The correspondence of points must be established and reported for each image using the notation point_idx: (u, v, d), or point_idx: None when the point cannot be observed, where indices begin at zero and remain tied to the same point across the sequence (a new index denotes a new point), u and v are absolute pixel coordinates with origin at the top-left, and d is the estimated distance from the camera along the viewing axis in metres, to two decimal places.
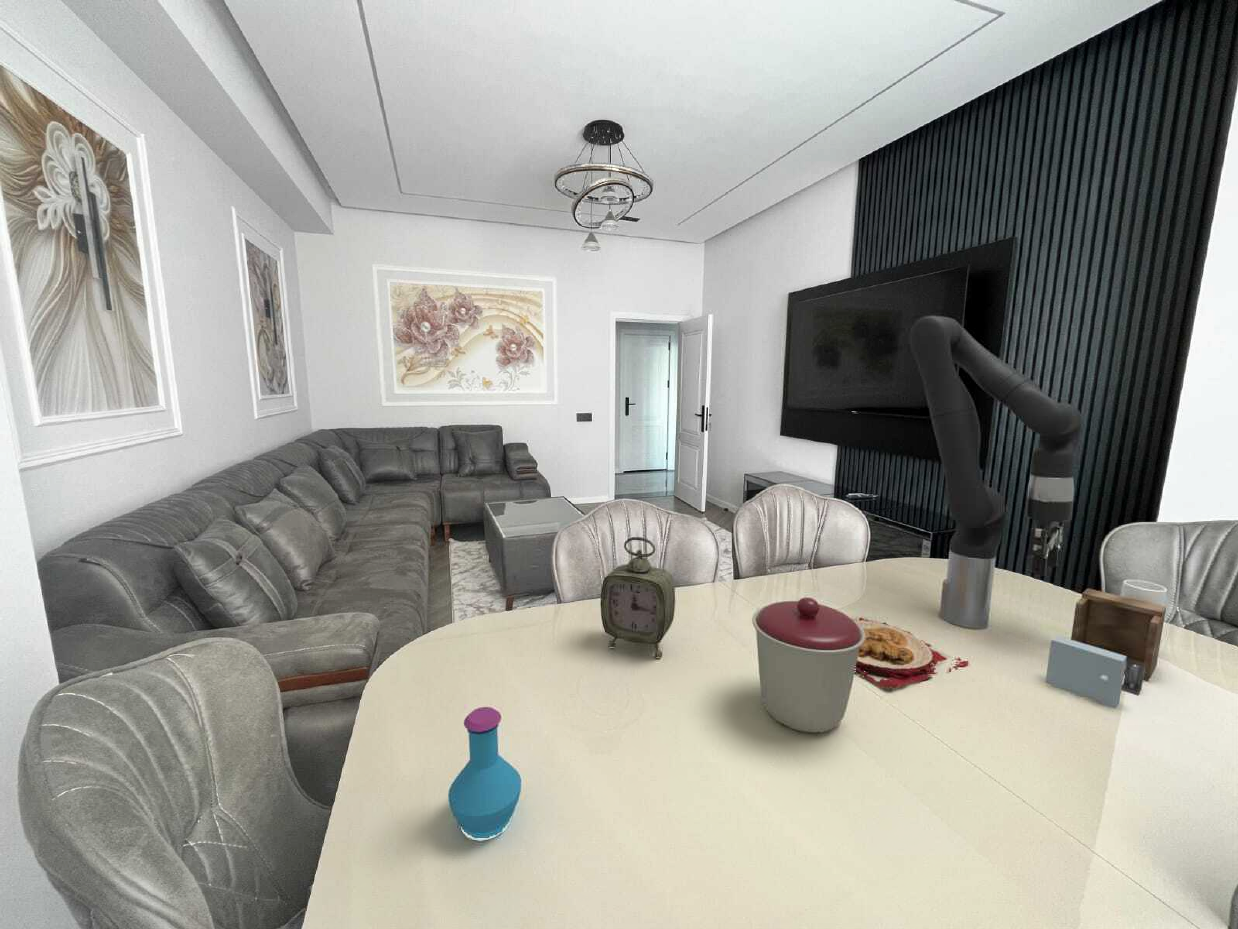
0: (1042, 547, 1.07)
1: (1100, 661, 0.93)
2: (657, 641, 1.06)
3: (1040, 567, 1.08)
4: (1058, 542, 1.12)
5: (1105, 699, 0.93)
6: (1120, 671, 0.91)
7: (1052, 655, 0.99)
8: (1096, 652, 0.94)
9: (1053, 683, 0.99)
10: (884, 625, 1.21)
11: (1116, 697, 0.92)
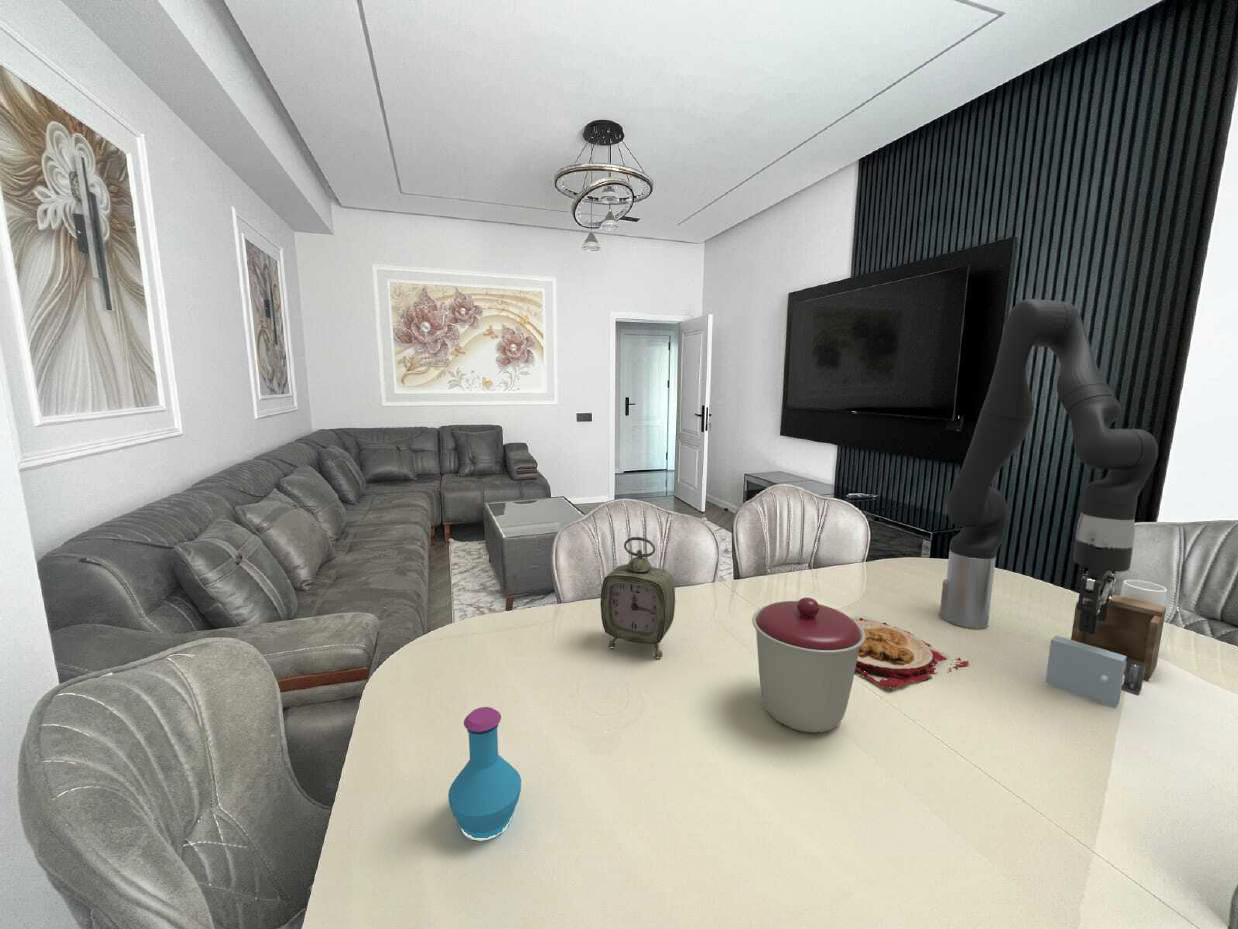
0: (1094, 602, 0.89)
1: (1100, 661, 0.93)
2: (657, 641, 1.06)
3: (1090, 624, 0.91)
4: (1110, 593, 0.95)
5: (1105, 699, 0.93)
6: (1120, 671, 0.91)
7: (1052, 655, 0.99)
8: (1096, 652, 0.94)
9: (1053, 683, 0.99)
10: (884, 625, 1.21)
11: (1116, 697, 0.92)
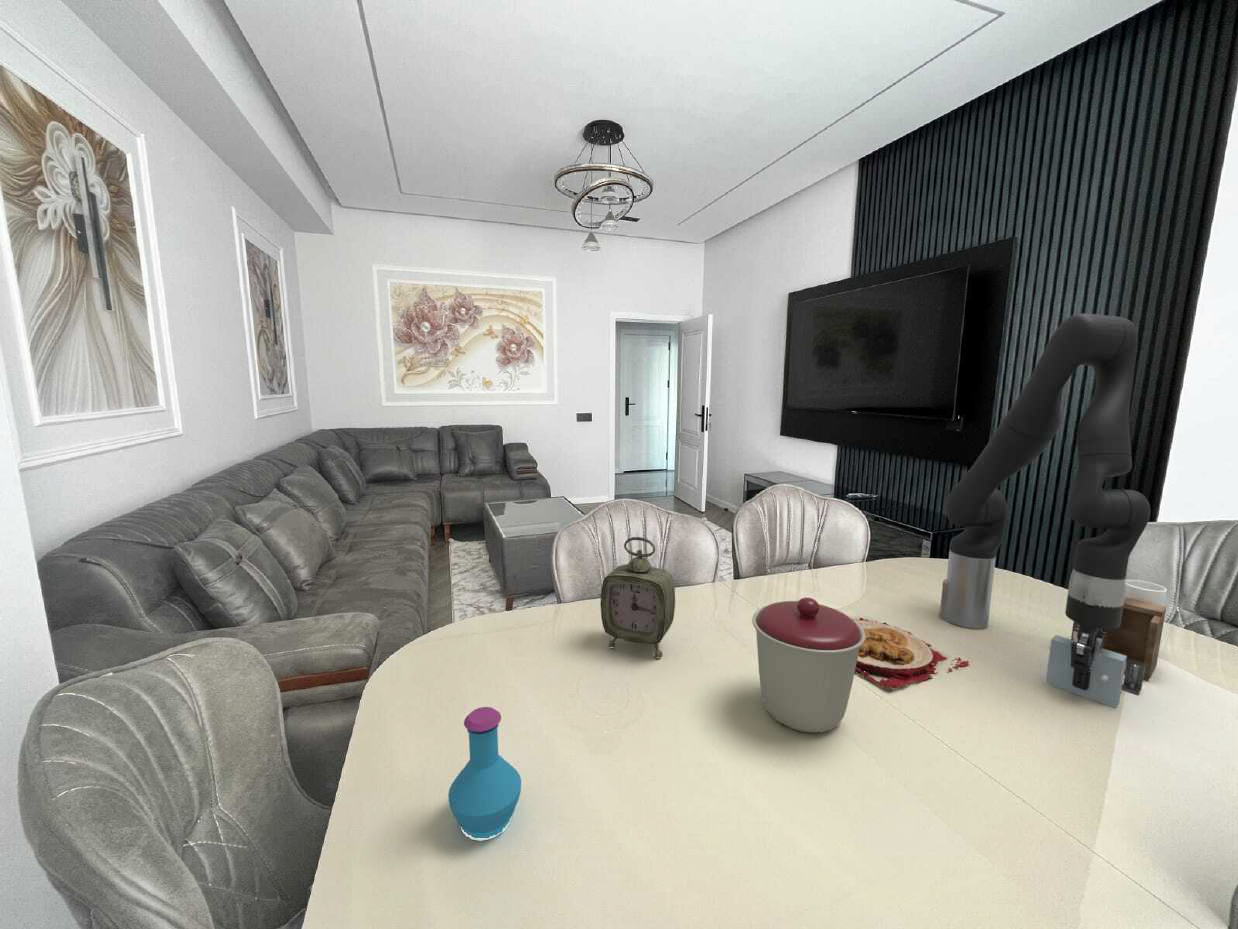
0: (1086, 664, 0.92)
1: (1100, 661, 0.93)
2: (657, 641, 1.06)
3: (1083, 681, 0.94)
4: None
5: (1105, 698, 0.93)
6: (1120, 671, 0.91)
7: (1052, 655, 0.99)
8: None
9: (1053, 683, 0.99)
10: (884, 625, 1.21)
11: (1116, 697, 0.92)
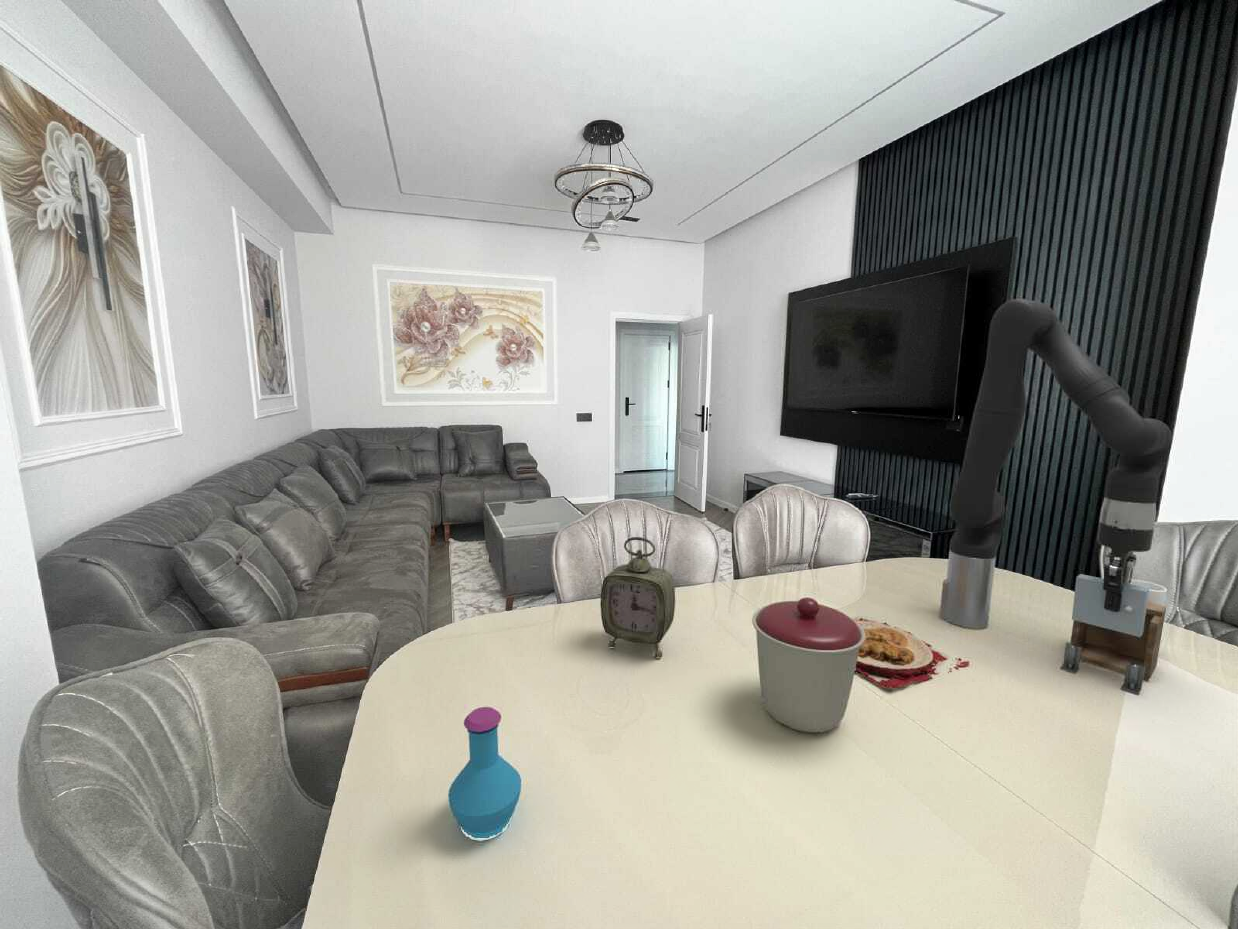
0: (1118, 585, 0.97)
1: (1124, 593, 0.99)
2: (657, 641, 1.06)
3: (1115, 603, 0.99)
4: (1129, 576, 1.00)
5: (1130, 629, 0.99)
6: (1144, 601, 0.97)
7: (1078, 592, 1.04)
8: None
9: (1079, 618, 1.05)
10: (884, 625, 1.21)
11: (1140, 626, 0.98)
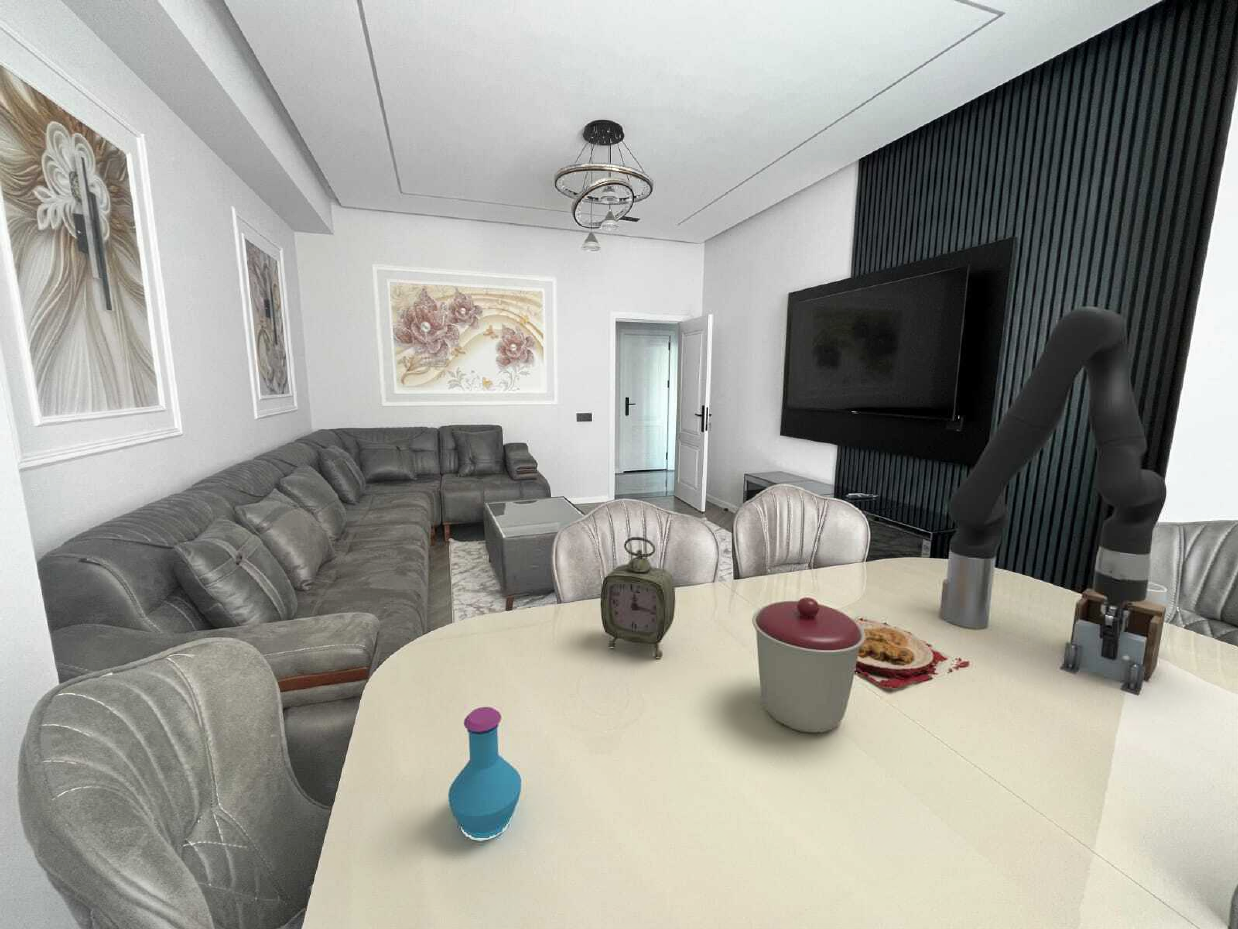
0: (1115, 635, 0.98)
1: (1122, 643, 1.00)
2: (657, 641, 1.06)
3: (1111, 651, 1.00)
4: (1125, 624, 1.01)
5: None
6: (1141, 651, 0.98)
7: (1076, 638, 1.05)
8: None
9: None
10: (885, 625, 1.21)
11: None
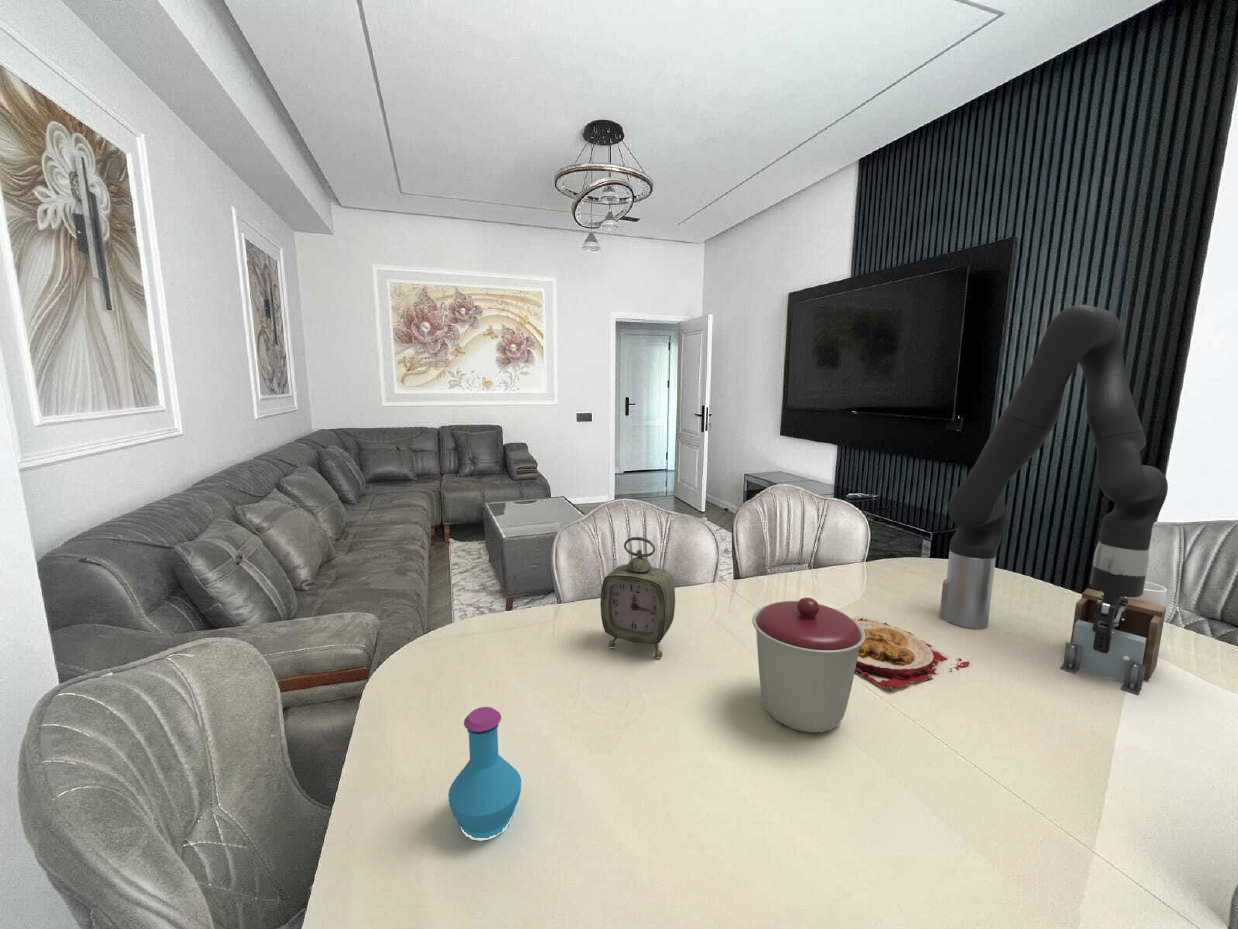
0: (1109, 625, 0.97)
1: (1122, 643, 1.00)
2: (657, 641, 1.06)
3: (1103, 645, 0.99)
4: (1123, 615, 1.02)
5: None
6: (1141, 652, 0.98)
7: (1076, 638, 1.05)
8: (1118, 634, 1.01)
9: None
10: (885, 625, 1.20)
11: None
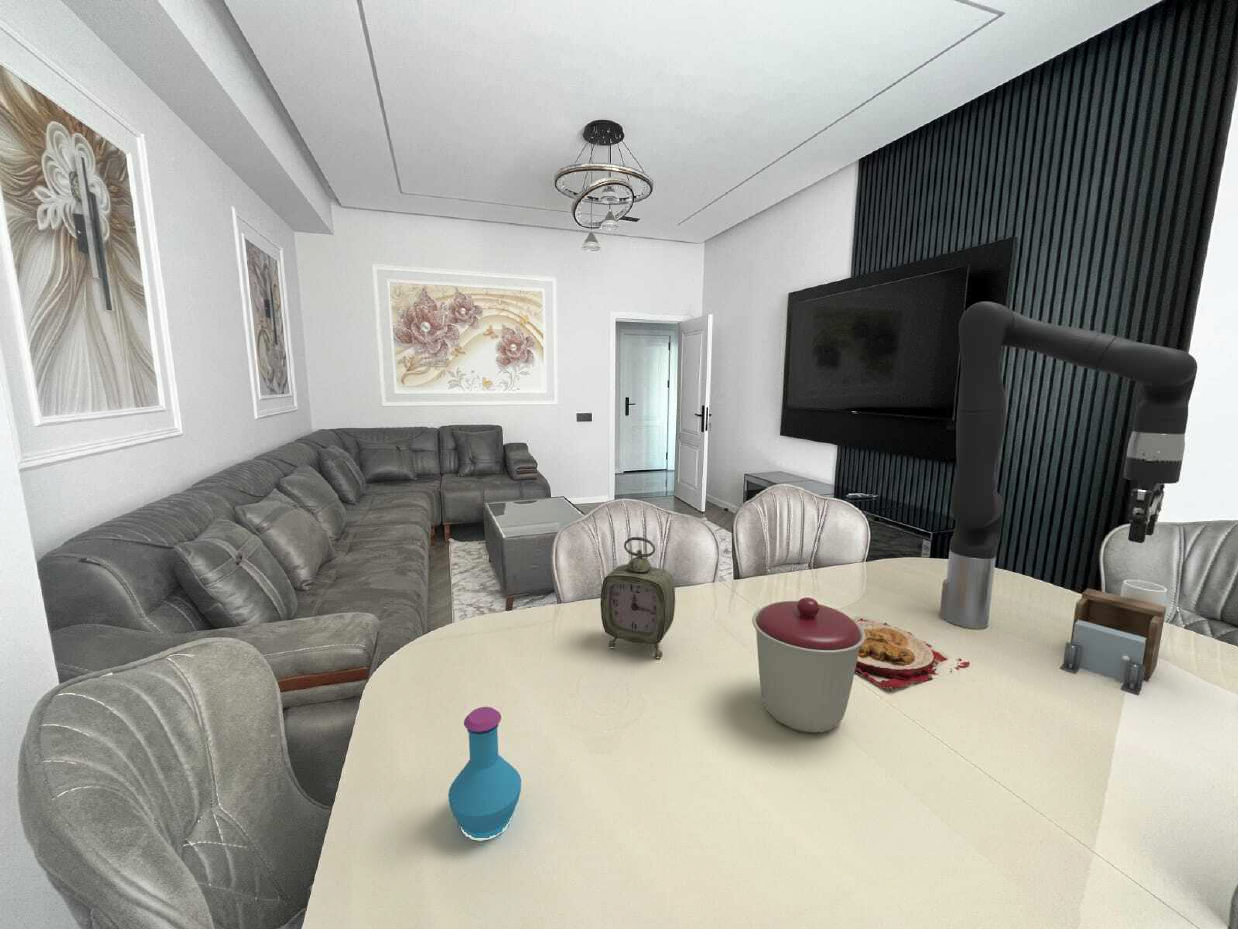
0: (1145, 510, 0.95)
1: (1122, 643, 1.00)
2: (657, 641, 1.06)
3: (1139, 533, 0.97)
4: (1158, 507, 1.01)
5: None
6: (1141, 651, 0.98)
7: (1076, 638, 1.05)
8: (1118, 634, 1.01)
9: None
10: (885, 626, 1.20)
11: None
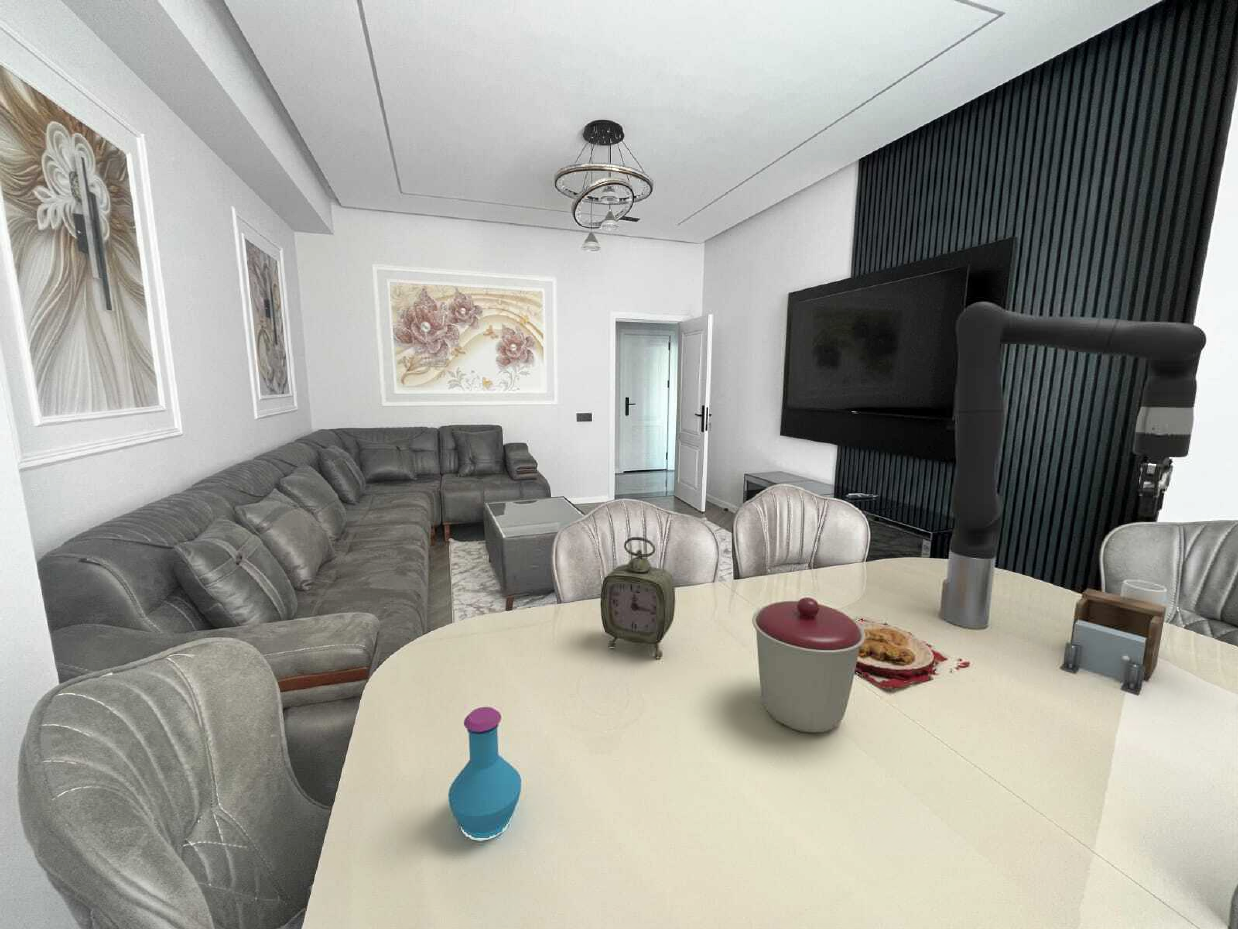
0: (1155, 484, 0.96)
1: (1122, 643, 1.00)
2: (657, 641, 1.06)
3: (1149, 507, 0.98)
4: (1167, 482, 1.02)
5: None
6: (1141, 651, 0.98)
7: (1076, 638, 1.05)
8: (1118, 634, 1.01)
9: None
10: (885, 626, 1.20)
11: None
